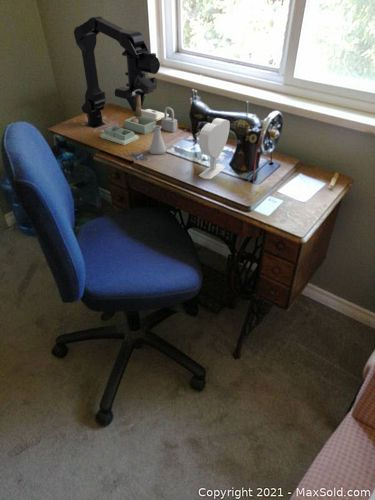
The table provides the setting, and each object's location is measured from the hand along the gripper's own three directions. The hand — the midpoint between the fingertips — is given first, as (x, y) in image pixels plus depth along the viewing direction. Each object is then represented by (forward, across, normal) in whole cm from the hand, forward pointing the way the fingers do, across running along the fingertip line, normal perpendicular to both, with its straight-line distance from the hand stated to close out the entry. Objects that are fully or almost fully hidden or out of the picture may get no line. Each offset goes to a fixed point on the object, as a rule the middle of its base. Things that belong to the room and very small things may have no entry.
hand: (137, 110), depth 154 cm
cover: (+8, +17, +6) cm, 19 cm away
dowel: (+2, 0, 0) cm, 2 cm away
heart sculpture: (+11, -7, -43) cm, 45 cm away
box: (+12, +8, +6) cm, 16 cm away
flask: (+12, -6, -16) cm, 20 cm away
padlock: (+12, +15, -5) cm, 20 cm away
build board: (+12, -5, +6) cm, 14 cm away
